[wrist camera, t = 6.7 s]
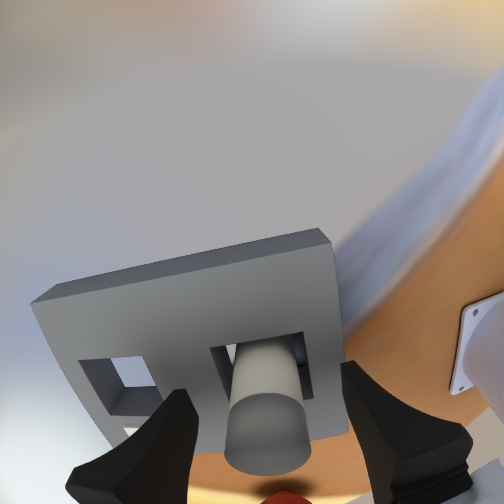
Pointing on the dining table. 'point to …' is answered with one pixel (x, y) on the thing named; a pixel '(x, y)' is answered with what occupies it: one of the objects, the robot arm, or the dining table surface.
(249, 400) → the plug
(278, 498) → the red rounded oval piece
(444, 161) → the dining table surface
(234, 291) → the socket panel
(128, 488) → the robot arm
